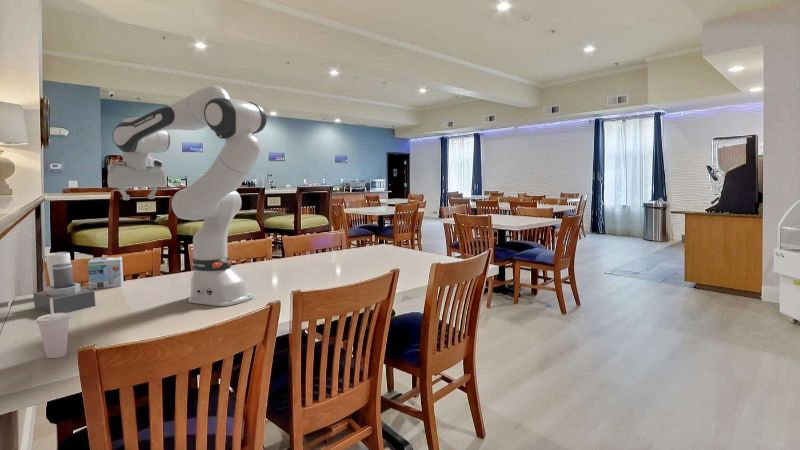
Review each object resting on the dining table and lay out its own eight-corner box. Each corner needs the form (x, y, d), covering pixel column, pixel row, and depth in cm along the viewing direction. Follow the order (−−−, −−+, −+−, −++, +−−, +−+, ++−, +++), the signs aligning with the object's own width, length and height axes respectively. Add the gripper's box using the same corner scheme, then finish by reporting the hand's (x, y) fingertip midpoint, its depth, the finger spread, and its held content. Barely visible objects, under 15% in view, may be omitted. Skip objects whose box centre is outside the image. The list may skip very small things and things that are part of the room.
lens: (75, 289, 145) (72, 262, 144) (73, 292, 141) (71, 265, 140) (55, 291, 143) (53, 264, 142) (53, 294, 138) (50, 267, 137)
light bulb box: (89, 289, 164) (86, 261, 163) (91, 285, 170) (89, 258, 169) (122, 286, 169) (120, 259, 168) (124, 282, 175) (122, 256, 174)
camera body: (95, 305, 144) (93, 285, 143) (56, 314, 134) (55, 292, 133) (73, 299, 150) (71, 280, 149) (34, 308, 141) (32, 287, 140)
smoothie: (67, 348, 109) (63, 293, 107) (77, 354, 105) (73, 298, 103) (35, 356, 103) (30, 299, 102) (44, 363, 100) (39, 304, 98)
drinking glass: (60, 297, 153) (56, 255, 151) (44, 296, 154) (40, 255, 152) (77, 292, 159) (74, 252, 158) (62, 291, 161) (59, 251, 159)
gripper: (112, 161, 150) (115, 200, 152) (167, 162, 168) (169, 198, 170) (102, 161, 153) (104, 200, 155) (157, 163, 171) (159, 198, 173)
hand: (139, 199), depth 163 cm, fingers open, 8 cm apart
